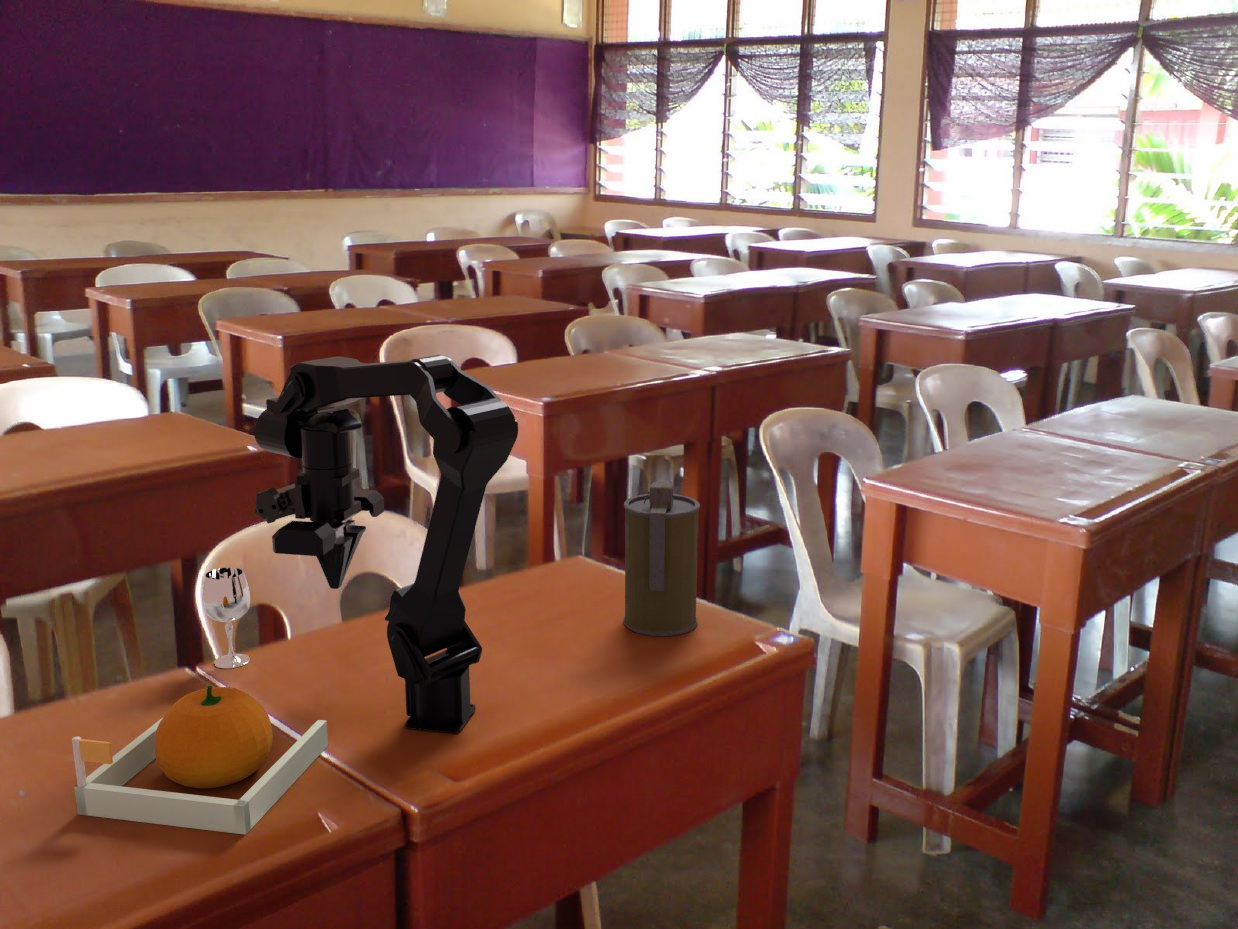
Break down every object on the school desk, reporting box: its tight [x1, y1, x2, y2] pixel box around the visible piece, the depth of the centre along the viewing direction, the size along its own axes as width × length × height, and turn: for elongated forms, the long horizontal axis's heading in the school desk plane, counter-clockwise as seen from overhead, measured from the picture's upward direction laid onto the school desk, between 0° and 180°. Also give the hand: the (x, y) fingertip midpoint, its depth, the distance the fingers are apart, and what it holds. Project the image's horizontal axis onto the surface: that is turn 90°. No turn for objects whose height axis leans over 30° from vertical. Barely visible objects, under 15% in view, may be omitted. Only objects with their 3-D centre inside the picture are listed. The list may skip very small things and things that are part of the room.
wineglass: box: [201, 566, 251, 669], centre depth 148 cm, size 6×6×12 cm
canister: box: [622, 480, 701, 637], centre depth 160 cm, size 11×10×20 cm
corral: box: [71, 717, 329, 836], centre depth 120 cm, size 18×18×8 cm
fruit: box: [155, 685, 274, 789], centre depth 121 cm, size 12×12×10 cm
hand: (335, 587), depth 142 cm, fingers closed
